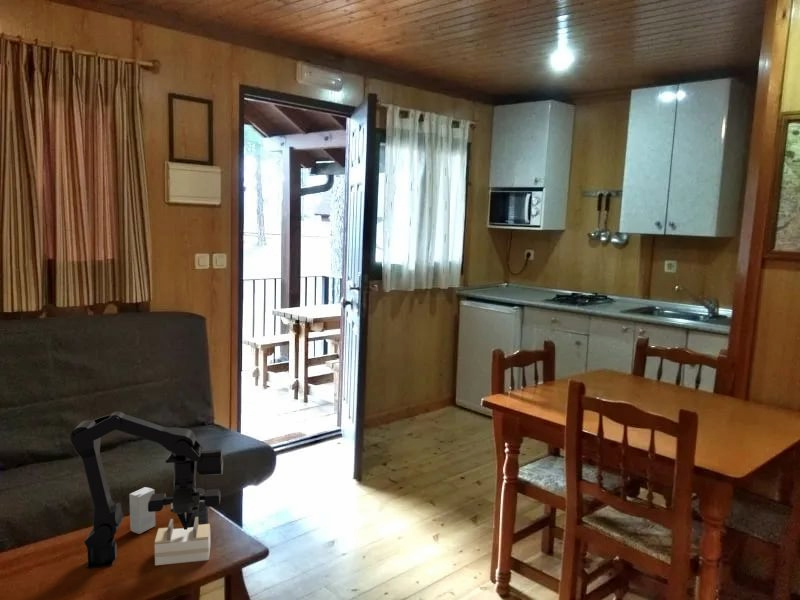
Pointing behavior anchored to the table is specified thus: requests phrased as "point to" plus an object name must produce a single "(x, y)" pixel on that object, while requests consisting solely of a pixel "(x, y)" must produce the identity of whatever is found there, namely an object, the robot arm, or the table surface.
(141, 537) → the table surface
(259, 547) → the table surface
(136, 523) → the skincare box
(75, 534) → the table surface
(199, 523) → the supplement bottle
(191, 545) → the carton
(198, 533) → the flap far
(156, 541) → the flap near
